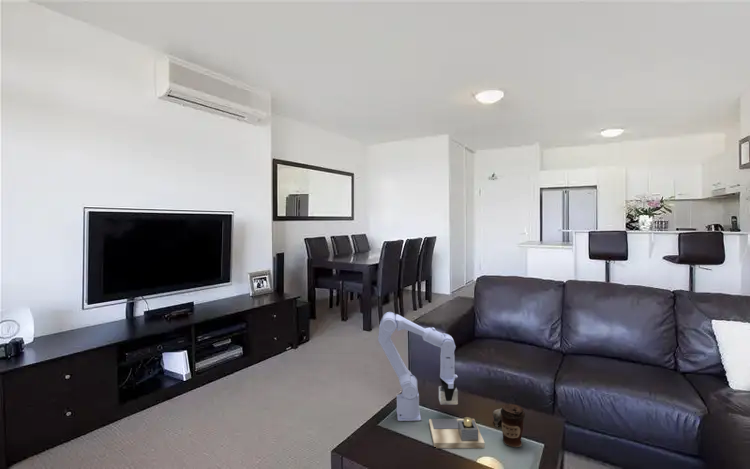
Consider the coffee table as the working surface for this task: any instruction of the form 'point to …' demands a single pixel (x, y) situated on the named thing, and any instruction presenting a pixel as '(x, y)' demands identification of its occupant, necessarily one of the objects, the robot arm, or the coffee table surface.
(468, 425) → the pin
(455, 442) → the base
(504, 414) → the coffee cup
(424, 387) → the coffee table surface
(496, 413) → the rhino figurine
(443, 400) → the block
